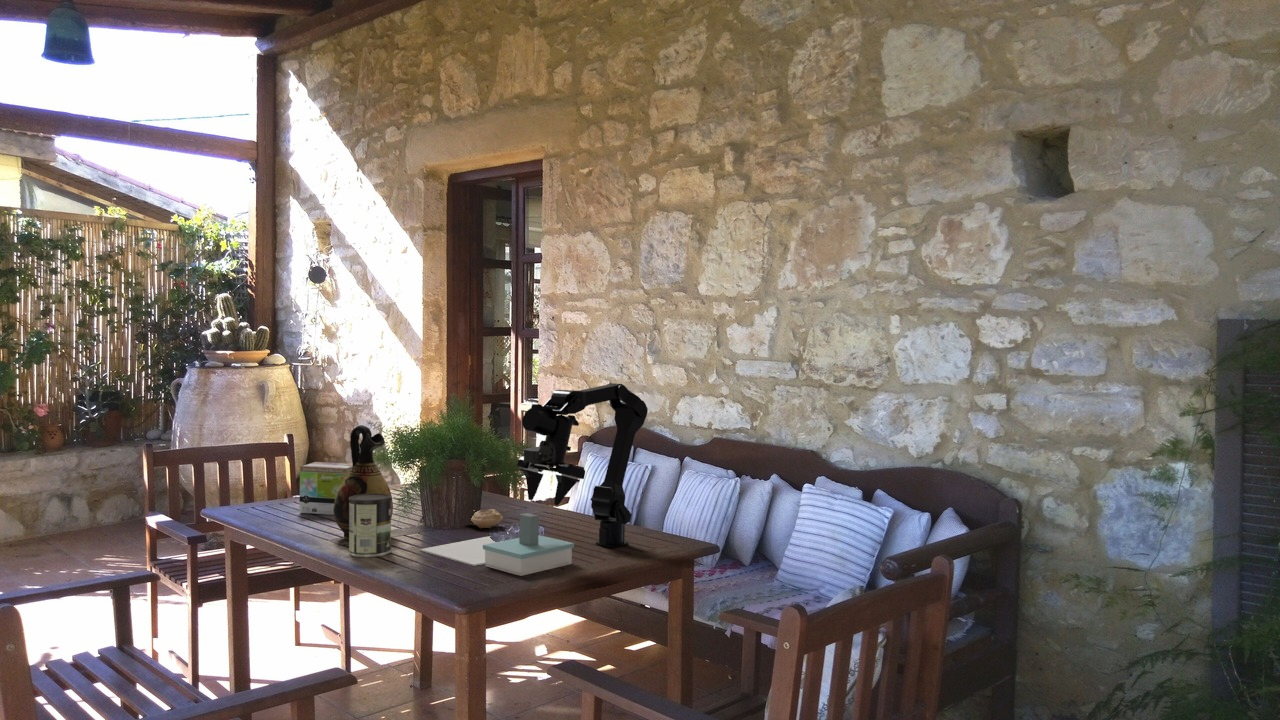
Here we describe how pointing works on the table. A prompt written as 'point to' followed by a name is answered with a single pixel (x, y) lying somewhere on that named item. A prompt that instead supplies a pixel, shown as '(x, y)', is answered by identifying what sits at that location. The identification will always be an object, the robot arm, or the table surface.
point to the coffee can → (370, 525)
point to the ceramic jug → (360, 475)
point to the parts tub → (528, 562)
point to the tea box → (321, 486)
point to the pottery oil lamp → (486, 518)
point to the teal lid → (528, 541)
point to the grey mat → (462, 551)
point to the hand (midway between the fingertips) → (543, 502)
